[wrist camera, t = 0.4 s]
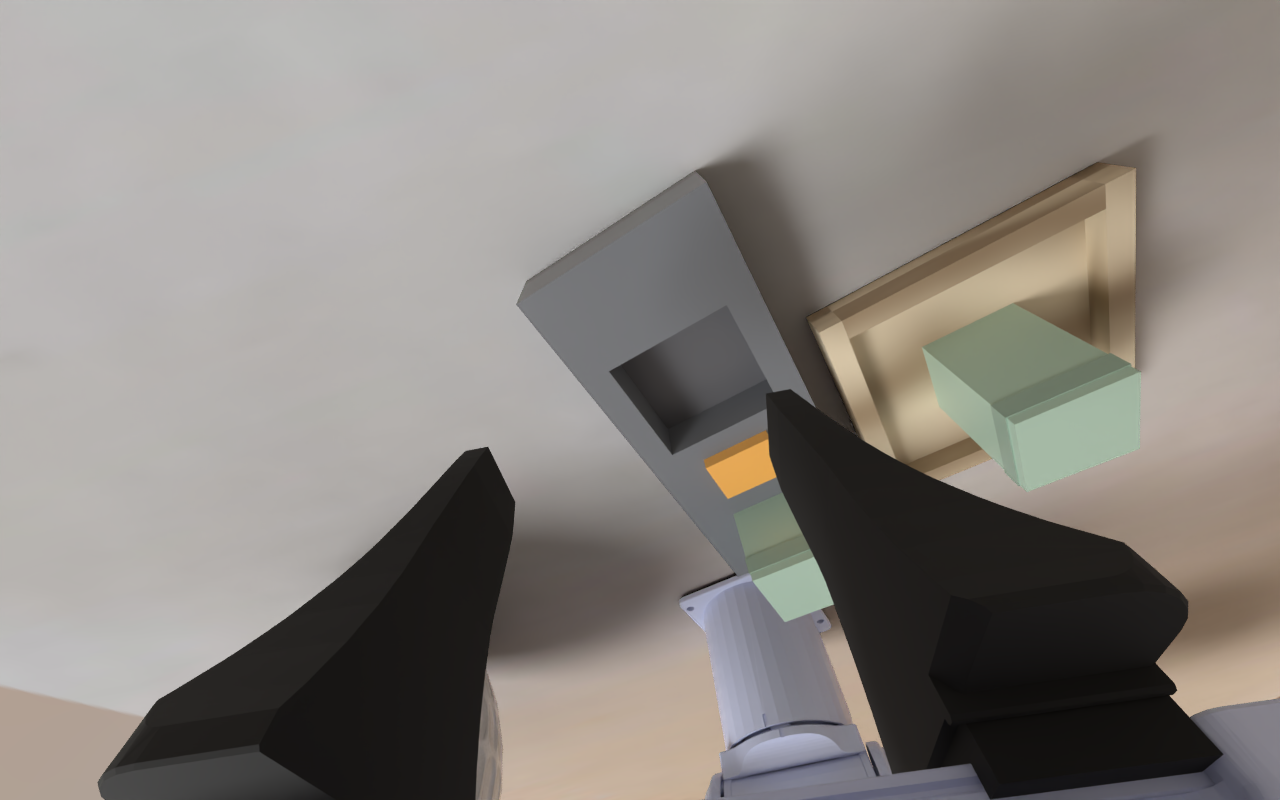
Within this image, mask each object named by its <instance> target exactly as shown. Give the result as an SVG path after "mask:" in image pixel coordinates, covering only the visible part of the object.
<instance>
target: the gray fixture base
mask: <svg viewBox="0 0 1280 800" xmlns="http://www.w3.org/2000/svg"><path fill="white" fill-rule="evenodd" d="M516 305H517V306H518V307H519V308H520V310H521V311H522V312H523V313H524V315H525V316H526V317H527V318H528V319H529V321H530V322H531V323H532V324H533V326H534V327H535V328H536V329H537V330H538V332H539V333H540V334H541V335H542V337H543V338H544V339H545V340H546V342H547V343H548V344H549V345H550V346H551V348H552V349H553V350H554V351H555V353H556V354H557V355H558V356H559V357H560V359H561V360H562V361H563V362H564V364H565V365H566V366H567V367H568V369H569V370H570V371H571V372H572V373H573V375H574V376H575V377H576V378H577V380H578V381H579V382H580V383H581V384H582V386H583V387H584V388H585V389H586V391H587V392H588V393H589V394H590V396H591V397H592V398H593V399H594V400H595V402H596V403H597V404H598V405H599V407H600V408H601V409H602V410H603V411H604V413H605V414H606V415H607V416H608V418H609V419H610V420H611V421H612V423H613V424H614V425H615V426H616V427H617V429H618V430H619V431H620V432H621V434H622V435H623V436H624V437H625V438H626V440H627V441H628V442H629V443H630V445H631V446H632V447H633V448H634V450H635V451H636V452H637V453H638V454H639V456H640V457H641V458H642V459H643V461H644V462H645V463H646V464H647V465H648V467H649V468H650V469H651V470H652V472H653V473H654V474H655V475H656V477H657V478H658V479H659V480H660V481H661V483H662V484H663V485H664V486H665V488H666V489H667V490H668V491H669V492H670V494H671V495H672V496H673V497H674V499H675V500H676V501H677V502H678V503H679V505H680V506H681V507H682V508H683V510H684V511H685V512H686V513H687V515H688V516H689V517H690V518H691V519H692V521H693V522H694V523H695V524H696V526H697V527H698V528H699V529H700V530H701V532H702V533H703V534H704V535H705V537H706V538H707V539H708V540H709V542H710V543H711V544H712V545H713V546H714V548H715V549H716V550H717V551H718V553H719V554H720V555H721V556H722V557H723V559H724V560H725V561H726V562H727V564H728V565H729V566H730V567H731V569H732V570H733V571H734V572H735V573H736V575H737V576H738V577H739V576H742V575H744V574H747V573H749V574H750V575H751V578H752V581H753V582H754V584H755V585H756V586H757V588H758V589H759V590H760V591H761V593H762V594H763V595H764V596H765V598H766V599H767V600H768V601H769V603H770V604H771V605H772V606H773V608H774V609H775V610H776V611H777V613H778V614H779V615H780V617H781V618H782V619H783V620H784V622H787V621H790V620H792V619H795V618H798V617H801V616H803V615H806V614H809V613H812V612H814V611H817V610H820V609H823V608H825V607H828V606H831V605H834V603H833V601H832V598H831V595H830V593H829V590H828V587H827V585H826V582H825V580H824V577H823V575H822V573H821V571H820V568H819V566H818V564H817V562H816V560H815V558H814V556H813V554H812V552H811V550H810V548H809V546H808V544H807V542H806V540H805V538H804V536H803V534H802V532H801V530H800V528H799V526H798V524H797V522H796V520H795V517H794V515H793V513H792V511H791V509H790V507H789V505H788V503H787V501H786V499H785V497H784V495H783V493H782V491H781V488H780V485H779V483H778V480H777V477H776V474H775V471H774V468H773V465H772V462H771V459H770V456H769V441H768V424H767V407H766V394H767V393H772V392H777V391H782V390H787V389H791V390H792V391H794V392H795V393H797V394H798V395H799V396H801V397H802V398H803V399H805V400H806V401H807V402H809V403H810V404H811V405H813V406H814V407H815V405H814V403H813V401H812V399H811V397H810V394H809V392H808V390H807V388H806V386H805V384H804V382H803V380H802V378H801V376H800V374H799V372H798V370H797V368H796V366H795V363H794V361H793V359H792V357H791V355H790V353H789V351H788V349H787V347H786V345H785V343H784V341H783V339H782V337H781V335H780V332H779V330H778V328H777V326H776V324H775V322H774V320H773V318H772V316H771V314H770V312H769V310H768V308H767V306H766V304H765V302H764V299H763V297H762V295H761V293H760V291H759V289H758V287H757V285H756V283H755V281H754V279H753V277H752V275H751V273H750V271H749V268H748V266H747V264H746V262H745V260H744V258H743V256H742V254H741V252H740V250H739V248H738V246H737V244H736V242H735V240H734V237H733V235H732V233H731V231H730V229H729V227H728V225H727V223H726V221H725V219H724V217H723V215H722V213H721V211H720V209H719V206H718V204H717V202H716V200H715V198H714V196H713V194H712V192H711V190H710V188H709V186H708V184H707V182H706V181H705V180H704V179H703V178H702V177H701V176H700V175H699V174H698V173H697V172H696V171H694V172H692V173H691V174H689V175H688V176H686V177H685V178H683V179H681V180H680V181H678V182H677V183H675V184H674V185H672V186H671V187H669V188H668V189H666V190H665V191H663V192H662V193H660V194H659V195H657V196H656V197H654V198H653V199H651V200H649V201H648V202H646V203H645V204H643V205H642V206H640V207H639V208H637V209H636V210H634V211H633V212H631V213H630V214H628V215H627V216H625V217H624V218H622V219H621V220H619V221H618V222H616V223H614V224H613V225H611V226H610V227H608V228H607V229H605V230H604V231H602V232H601V233H599V234H598V235H596V236H595V237H593V238H592V239H590V240H589V241H587V242H586V243H584V244H583V245H581V246H579V247H578V248H576V249H575V250H573V251H572V252H570V253H569V254H567V255H566V256H564V257H563V258H561V259H560V260H558V261H557V262H555V263H554V264H552V265H551V266H549V267H548V268H546V269H544V270H543V271H541V272H540V273H538V274H537V275H535V276H534V277H532V278H531V279H529V280H528V281H526V283H525V286H524V288H523V290H522V292H521V295H520V297H519V299H518V302H517V304H516ZM815 408H816V407H815Z"/></svg>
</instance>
